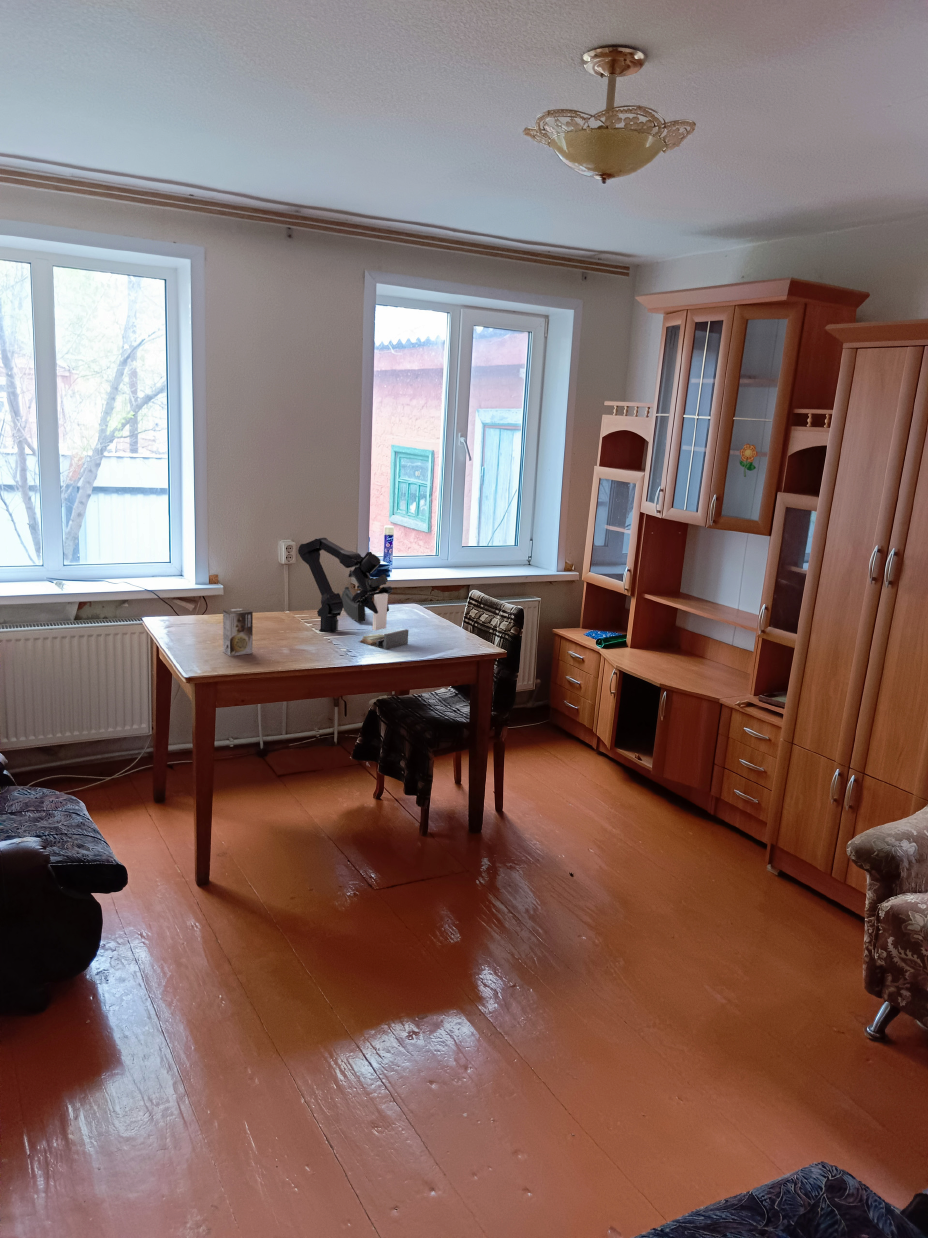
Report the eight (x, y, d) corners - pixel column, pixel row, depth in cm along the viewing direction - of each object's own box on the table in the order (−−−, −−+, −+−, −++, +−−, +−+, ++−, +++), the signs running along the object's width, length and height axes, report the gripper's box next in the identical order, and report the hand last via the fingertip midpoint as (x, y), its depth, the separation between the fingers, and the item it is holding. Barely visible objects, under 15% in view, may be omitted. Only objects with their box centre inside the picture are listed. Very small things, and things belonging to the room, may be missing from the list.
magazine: (367, 605, 376) (351, 573, 400) (360, 605, 375) (344, 573, 399) (362, 639, 384) (346, 605, 408) (355, 639, 383) (339, 605, 407)
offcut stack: (359, 641, 347) (360, 636, 347) (378, 637, 356) (378, 632, 356) (370, 644, 344) (371, 639, 343) (389, 640, 353) (389, 635, 352)
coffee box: (245, 649, 328) (246, 607, 325) (252, 653, 323) (253, 611, 320) (222, 652, 323) (222, 609, 319) (229, 656, 318) (230, 613, 314)
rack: (357, 644, 347) (358, 627, 345) (379, 639, 357) (380, 622, 356) (385, 652, 338) (386, 634, 337) (407, 646, 349) (408, 629, 347)
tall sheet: (372, 629, 346) (374, 594, 342) (382, 627, 350) (384, 593, 347) (375, 630, 345) (377, 595, 341) (386, 628, 349) (388, 593, 346)
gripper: (358, 570, 337) (378, 603, 333) (390, 566, 352) (410, 597, 348) (343, 586, 343) (362, 619, 339) (375, 582, 358) (394, 613, 354)
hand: (382, 612), depth 345 cm, fingers closed on tall sheet, 6 cm apart
